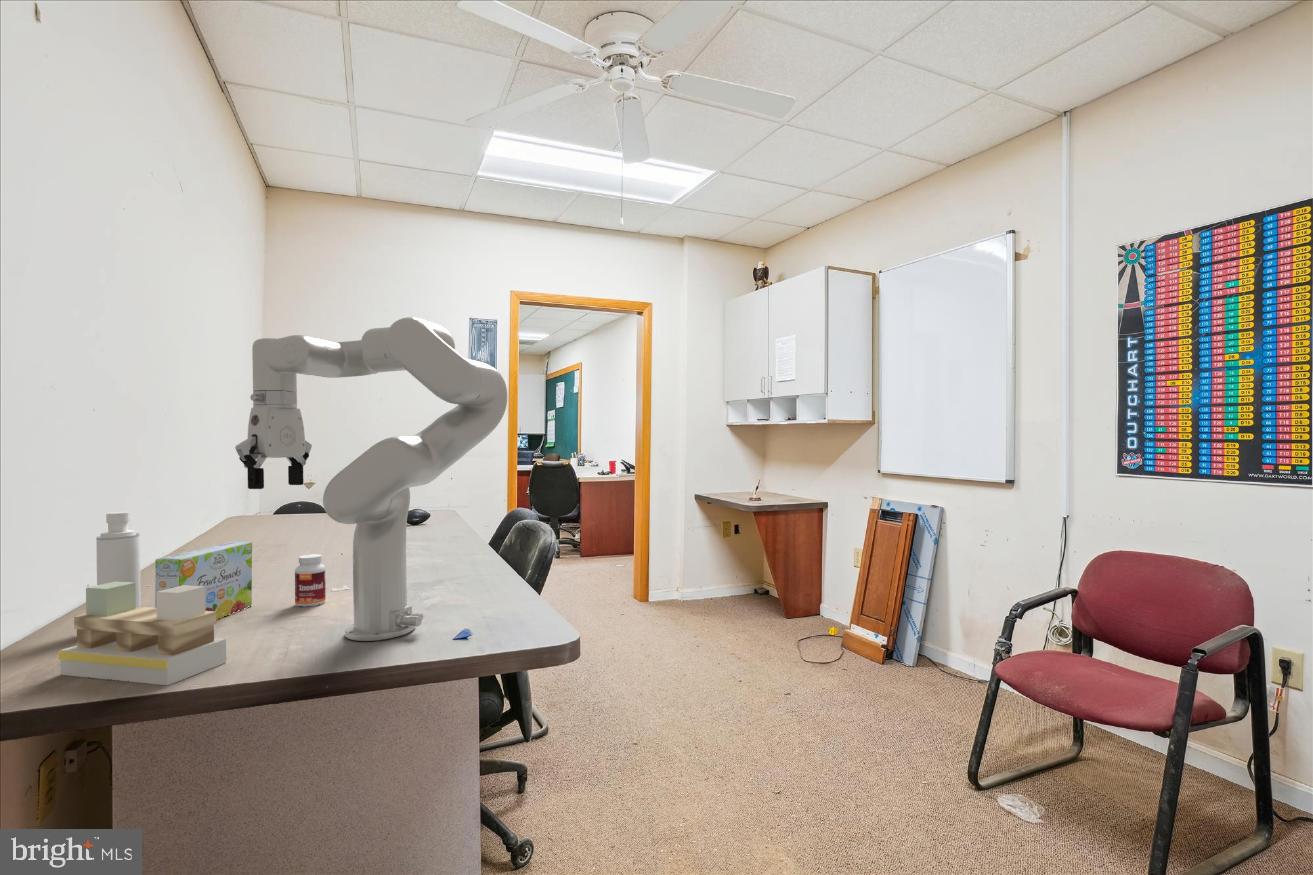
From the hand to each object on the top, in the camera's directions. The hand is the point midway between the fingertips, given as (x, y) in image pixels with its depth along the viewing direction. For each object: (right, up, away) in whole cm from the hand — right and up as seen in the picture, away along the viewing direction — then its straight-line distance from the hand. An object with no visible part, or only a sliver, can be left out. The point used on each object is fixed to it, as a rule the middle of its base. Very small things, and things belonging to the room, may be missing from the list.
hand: (276, 486), depth 126 cm
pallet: (-9, -25, -21) cm, 34 cm away
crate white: (-2, -19, -23) cm, 30 cm away
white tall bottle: (-33, -29, +2) cm, 44 cm away
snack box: (-19, -29, +7) cm, 35 cm away
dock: (-9, -29, -21) cm, 37 cm away
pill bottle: (-3, -29, +18) cm, 34 cm away
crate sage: (-16, -20, -20) cm, 32 cm away
